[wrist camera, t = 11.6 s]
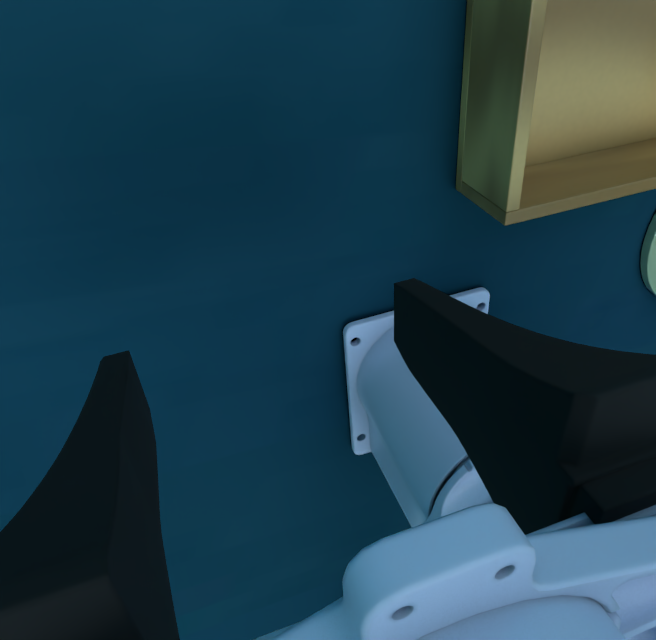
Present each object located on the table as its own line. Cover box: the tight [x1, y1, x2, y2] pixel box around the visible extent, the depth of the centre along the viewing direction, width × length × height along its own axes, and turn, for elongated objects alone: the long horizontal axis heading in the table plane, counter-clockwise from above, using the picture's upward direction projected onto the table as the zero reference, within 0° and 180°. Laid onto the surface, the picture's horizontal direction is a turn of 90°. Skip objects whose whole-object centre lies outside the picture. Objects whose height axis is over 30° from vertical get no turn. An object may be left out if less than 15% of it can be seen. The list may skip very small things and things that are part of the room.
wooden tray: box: [456, 0, 656, 226], centre depth 22 cm, size 13×13×4 cm
